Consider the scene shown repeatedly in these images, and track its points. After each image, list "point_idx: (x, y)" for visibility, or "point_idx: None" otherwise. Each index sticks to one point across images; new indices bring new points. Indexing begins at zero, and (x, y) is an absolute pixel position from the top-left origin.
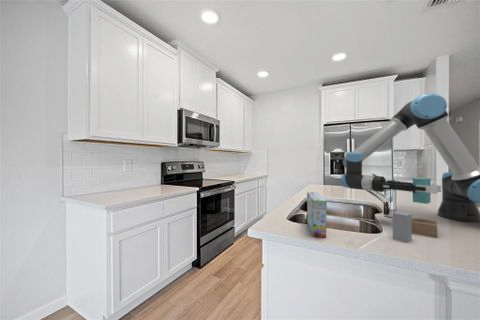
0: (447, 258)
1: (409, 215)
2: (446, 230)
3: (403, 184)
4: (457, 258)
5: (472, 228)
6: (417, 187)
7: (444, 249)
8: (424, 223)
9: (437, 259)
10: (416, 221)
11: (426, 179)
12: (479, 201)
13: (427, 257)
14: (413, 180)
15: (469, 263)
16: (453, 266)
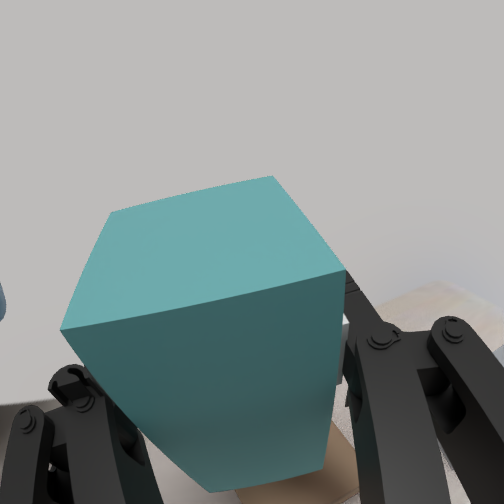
0: (444, 316)
1: (496, 351)
2: (155, 448)
3: (442, 464)
4: (421, 312)
5: (60, 403)
6: (372, 311)
7: None
8: (331, 434)
9: (470, 316)
10: (333, 470)
11: (276, 181)
12: (5, 311)
13: (485, 325)
14: (335, 304)
15: (418, 295)
16: (462, 293)
